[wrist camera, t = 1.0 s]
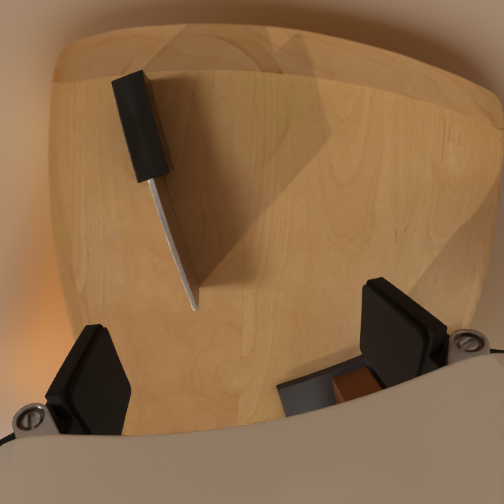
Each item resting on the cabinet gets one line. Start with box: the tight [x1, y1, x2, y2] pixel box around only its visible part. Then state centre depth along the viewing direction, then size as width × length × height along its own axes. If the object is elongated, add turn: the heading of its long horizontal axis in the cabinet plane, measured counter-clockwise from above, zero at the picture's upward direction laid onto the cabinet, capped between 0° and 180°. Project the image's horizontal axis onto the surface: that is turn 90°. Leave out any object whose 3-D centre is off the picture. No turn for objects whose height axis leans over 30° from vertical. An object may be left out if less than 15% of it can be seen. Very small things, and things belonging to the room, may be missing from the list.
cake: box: [276, 355, 387, 417], centre depth 31 cm, size 15×20×6 cm
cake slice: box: [332, 366, 382, 405], centre depth 30 cm, size 10×4×5 cm, turn 15°
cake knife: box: [111, 70, 200, 311], centre depth 22 cm, size 18×2×4 cm, turn 15°
